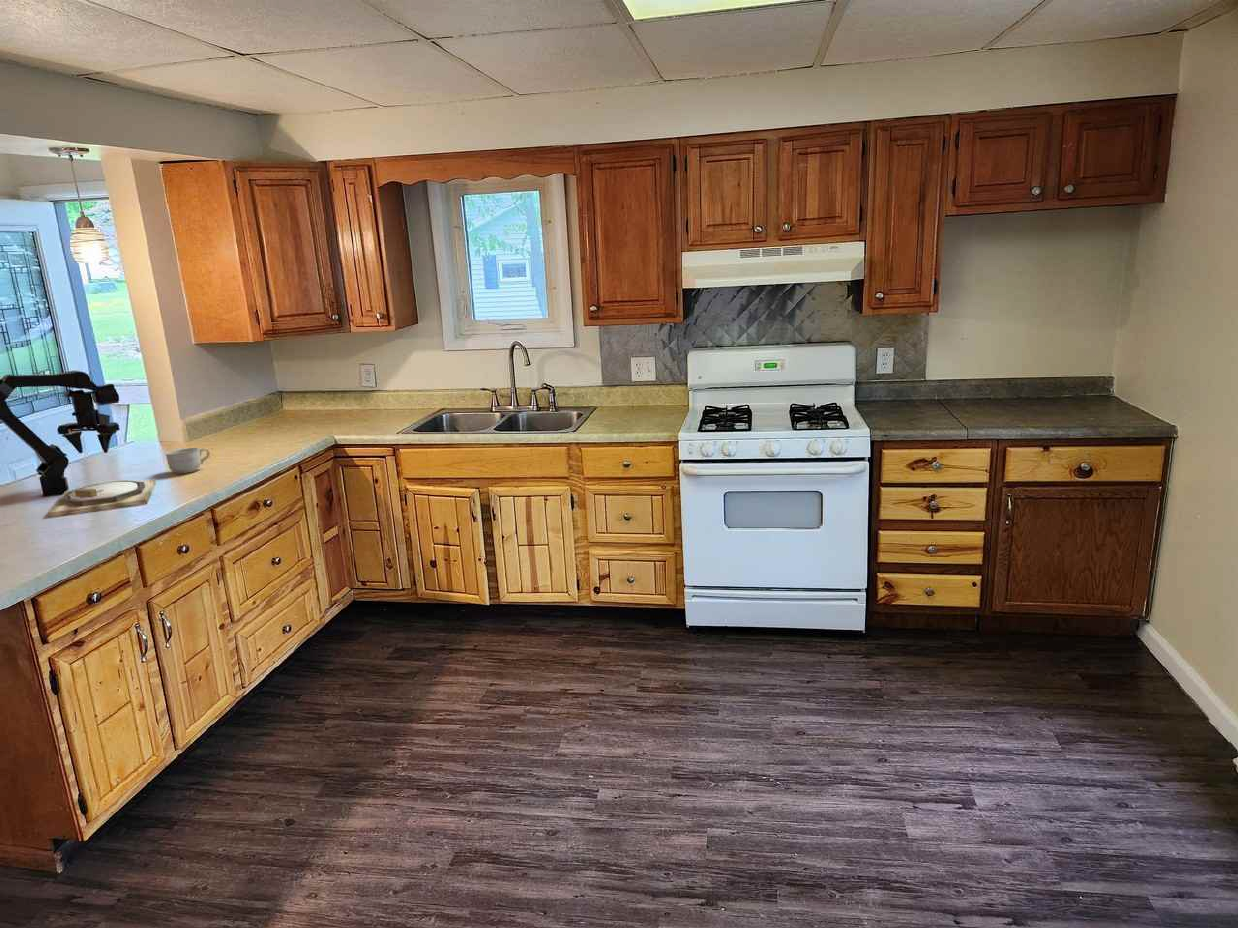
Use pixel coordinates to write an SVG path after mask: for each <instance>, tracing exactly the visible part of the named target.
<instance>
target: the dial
mask: <svg viewBox="0 0 1238 928" xmlns="http://www.w3.org/2000/svg"><path fill="white" fill-rule="evenodd" d="M111 482H112V483H108V482H104V483H105V484H100V483H98V484H99V485H94V484H93V485H94V486H90V485H88V486H89V487H86V486H84V487H85V488H83V487H81V488H82V489H80V488H77V489H78V490H76V489H74V490H75V491H74V492H72V493H71V494H70V495H69V496H70V499H75V500H91V499H98V498H106V497H113V496H117V495H120V494H123V493H126V492H130V491H133V490H136V489H137V488H138V486H137V484H136V483H133V482H116V481H111Z"/></svg>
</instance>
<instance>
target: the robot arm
mask: <svg viewBox="0 0 1238 928" xmlns="http://www.w3.org/2000/svg"><path fill="white" fill-rule="evenodd" d="M31 387H32V388H35V387H63V388H68V389H67V390H66V392H64V393H63V397H66V398H71V402H72V407H73V410H74V412H71V415H72V417H73V416H74V417H75V421H76V422H67V423H64V424H60V425H58V427H57V434H58V435H62V436H61V437H63V438H65V439H66V441H68V442H69V443H70V444H71V445H72V446H73V447H74V448H75V450H77V452H78V454H82V453H84V450H83V449H84V448H83V444H82V439H81V435H82V434H83V432H97V433H98V434H96V435H97V438H98V441H99V444H100V446H101V449H102V452H103V453H104V454H107V453H108V451H109V448H110V442H111V439H112V437H113V435H114V434H117V432H119V431H120V429H121V428H120V425H119V424H118V423H117V422H115V421H114V422H113V421H110V419H111V415H109V414H103V413H100V411H99V410H98V409H97V408H95V406H94V404H97V405H98V406H101V407H102V406H107V405H113V404H119V402H120V395H119V393H118V391H117V389H116V388H115V384H113V383H107V384H102V385H97V384H95V383H94V382H93V381H92V380H91V376H90V375H89V374H88V373H86V372H84V371H80V370H69V371H65V372H64V371H63V372H59V373H54V374H17V375H16V374H14V375H13V374H5V375H4V376H3V377H2V378H0V422H2V423H3V424H4V425H5V427H7V428H8V429H9V430H10V431H11V432H13V433H14V434H15V435H16V436H17V437H18V438H19V439H20V440H21V441H22V442H24V443H25V444H26V445H27V446H28V447H29V448H31V450H33V452H34V453H35V455H36V457H37V458H38V459H39V461H40V462H41V463H40V464H39V466H37V468H36V469H35V471H36V473H37V474H38V475H39V478H38V479H39V482H40V486H41V487H40V488H41V490H42V494H41V497H43V498H44V497H49V496H57V495H58V496H59V495H63V494H64V492H65V491H69V489H70V488H69V484H68V482H69V481H68V479H67V477H66V476H65V472H66V471H65V470H66V469H67V468H68V466H69V462H70V461H69V458H68V457H67V456H68V454H67V453H64V452H63V451H62V449H61V448H60V447H59V446H58V445H55V444H50V445H48V444H47V443H46V442H44V441H43V440H42V439H41V438H40V437H39V436H38V435H37V434H36V433H35V432H34V431H33V430H31V429H30V428H29V427H28V426H27V425H26V424H25V423H24V422H23V421H22V420H21V419H20V418H18V417H17V415H15V414H14V413H13V412H12V410H11V408H10V406H9V405H8V404H7V402H6V400H7V399H8V398H9V396H11V394H12V393H13V392H14V390H15V389H17V388H31ZM72 389H76V390H72ZM84 390H89V391H84Z"/></svg>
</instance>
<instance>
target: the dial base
mask: <svg viewBox="0 0 1238 928" xmlns="http://www.w3.org/2000/svg"><path fill="white" fill-rule="evenodd" d="M112 482H113V481H110V482H109V481H108V482H107V483H112ZM115 482H133V483H136V484H137V486H138V488H137V489H136V490H133V491H130V492H126V493H123V494H120V495H117V496H113V497H106V498H98V499H91V500H75V499H70V496H69V495H70V494H71V493H72V492H74V491H75V490H78V489H82V488H85V487H89V486H94V485H99V484H105V483H106V482H101V483H96V484H90V485H86V486H84V487H79V488H76V489H72V490H68V491H65V492H64V494H61V496H60V497H59V498H58V499H57V501H56V502H55V503H54V505H53V506H52V507H51V508H50V509H49V511H47V514H48V515H47V516H48V518H54V517H62V516H69V515H77V514H86V513H90V512H99V511H106V510H112V509H119V508H121V509H122V508H129V507H135V506H140V505H147V504H149V500H150V498H151V496H152V494H153V492H154V489H155V487H156V485H157V482H156V479H150V480H142V481H135V480H119V481H118V480H116V481H115Z"/></svg>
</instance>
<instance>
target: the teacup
mask: <svg viewBox="0 0 1238 928" xmlns="http://www.w3.org/2000/svg"><path fill="white" fill-rule="evenodd" d="M204 451H205V452H206V456H204V457H203V458H201V455H202V452H204ZM210 455H211V451H210V449H208V448H206V447H202V448H201V447H200V448H199V447H188V448H187V447H185V448H180V449H175V450H170V451H167V452H166V453H165V456H166V461H167V464H168V468H169V469H170V471H172V472H173V473H176V474H186V473H193V472H196V471H197V470H198V469H199V468H200V466H201V465H203V463H204V462H205V461H206V460H208V459H209V457H210Z"/></svg>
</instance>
